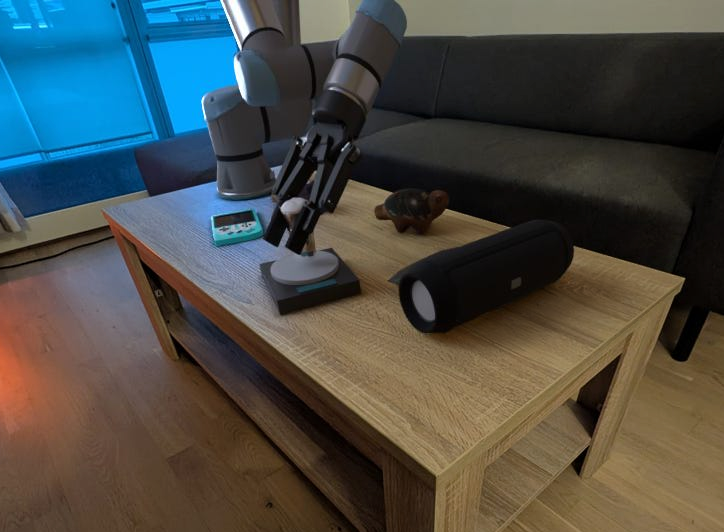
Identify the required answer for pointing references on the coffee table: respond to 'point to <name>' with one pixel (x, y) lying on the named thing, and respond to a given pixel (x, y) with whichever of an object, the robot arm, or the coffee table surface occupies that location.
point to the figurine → (304, 193)
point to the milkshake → (290, 216)
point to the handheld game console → (236, 227)
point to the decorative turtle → (412, 209)
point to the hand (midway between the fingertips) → (281, 246)
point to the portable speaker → (484, 275)
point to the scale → (309, 281)
